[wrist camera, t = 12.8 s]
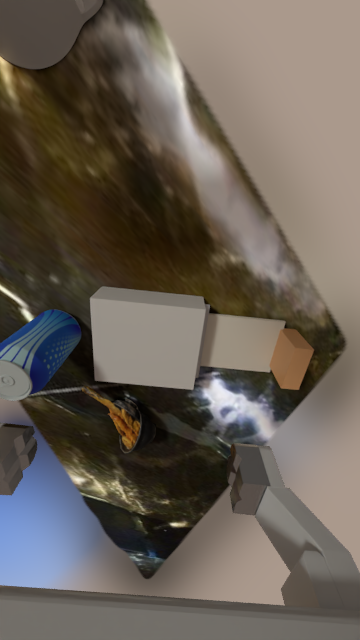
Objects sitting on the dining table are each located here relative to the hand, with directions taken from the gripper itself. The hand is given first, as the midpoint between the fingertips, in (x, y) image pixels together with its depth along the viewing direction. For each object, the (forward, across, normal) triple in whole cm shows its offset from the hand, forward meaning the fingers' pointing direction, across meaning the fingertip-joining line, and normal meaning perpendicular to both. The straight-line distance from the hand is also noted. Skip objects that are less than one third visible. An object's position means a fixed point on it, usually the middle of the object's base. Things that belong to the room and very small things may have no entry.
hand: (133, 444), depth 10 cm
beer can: (+34, +20, +14) cm, 42 cm away
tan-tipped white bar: (+33, -12, +13) cm, 37 cm away
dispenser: (+34, +3, +13) cm, 37 cm away
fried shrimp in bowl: (+34, +8, +32) cm, 48 cm away
